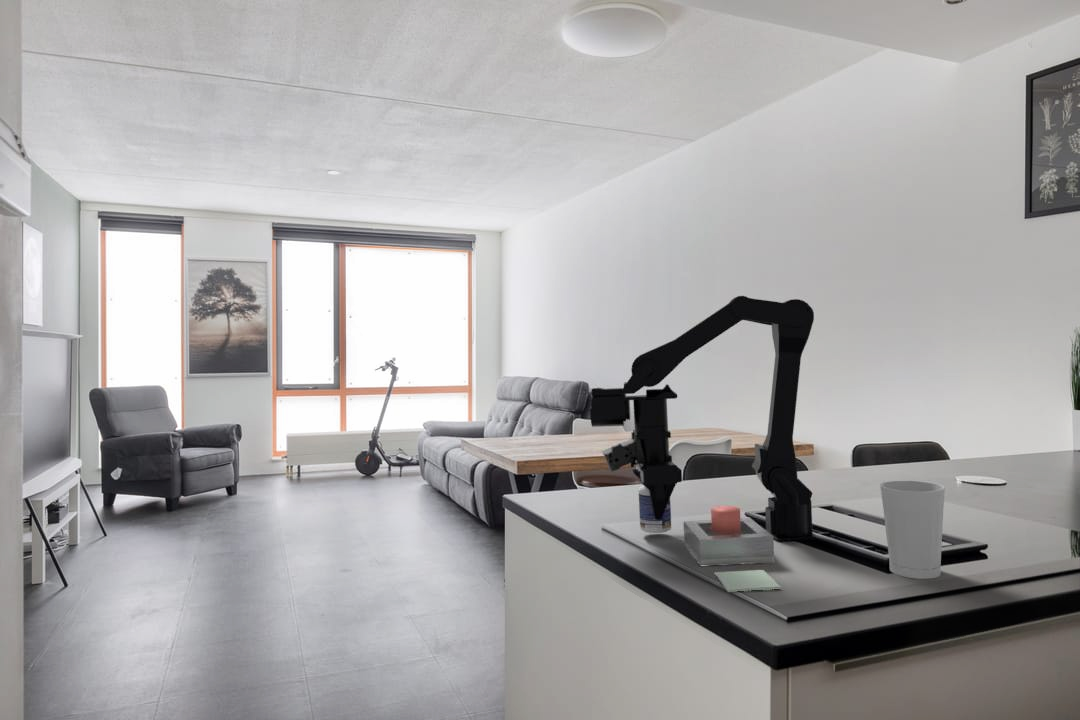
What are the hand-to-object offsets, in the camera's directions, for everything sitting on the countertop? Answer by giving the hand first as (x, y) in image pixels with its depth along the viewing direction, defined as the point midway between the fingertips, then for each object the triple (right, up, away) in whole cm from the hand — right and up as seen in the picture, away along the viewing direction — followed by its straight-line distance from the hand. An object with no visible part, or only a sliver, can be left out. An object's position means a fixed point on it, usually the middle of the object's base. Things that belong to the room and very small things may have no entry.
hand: (655, 514), depth 122 cm
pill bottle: (0, -3, 0) cm, 3 cm away
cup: (+32, -3, -24) cm, 40 cm away
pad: (+8, -4, -25) cm, 27 cm away
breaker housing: (+9, -4, -12) cm, 15 cm away
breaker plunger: (+9, 0, -12) cm, 15 cm away
